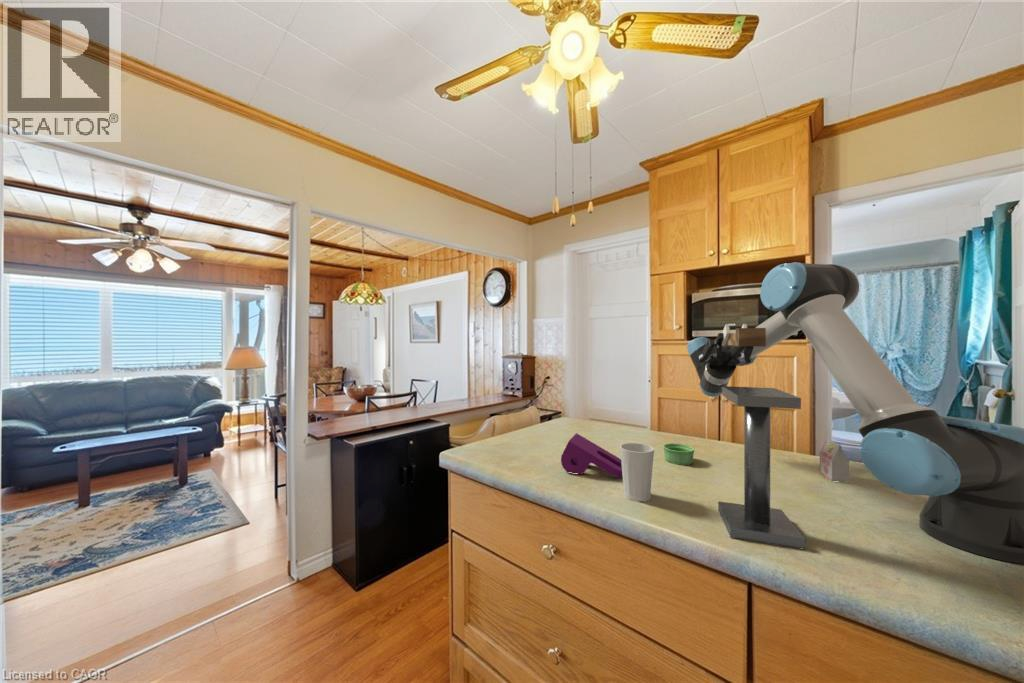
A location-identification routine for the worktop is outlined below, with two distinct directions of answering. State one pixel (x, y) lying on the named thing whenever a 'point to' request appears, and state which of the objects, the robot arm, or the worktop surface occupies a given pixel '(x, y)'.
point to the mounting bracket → (589, 457)
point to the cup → (637, 470)
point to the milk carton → (834, 462)
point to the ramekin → (678, 453)
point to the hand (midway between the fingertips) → (736, 328)
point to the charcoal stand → (759, 471)
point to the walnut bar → (747, 337)
